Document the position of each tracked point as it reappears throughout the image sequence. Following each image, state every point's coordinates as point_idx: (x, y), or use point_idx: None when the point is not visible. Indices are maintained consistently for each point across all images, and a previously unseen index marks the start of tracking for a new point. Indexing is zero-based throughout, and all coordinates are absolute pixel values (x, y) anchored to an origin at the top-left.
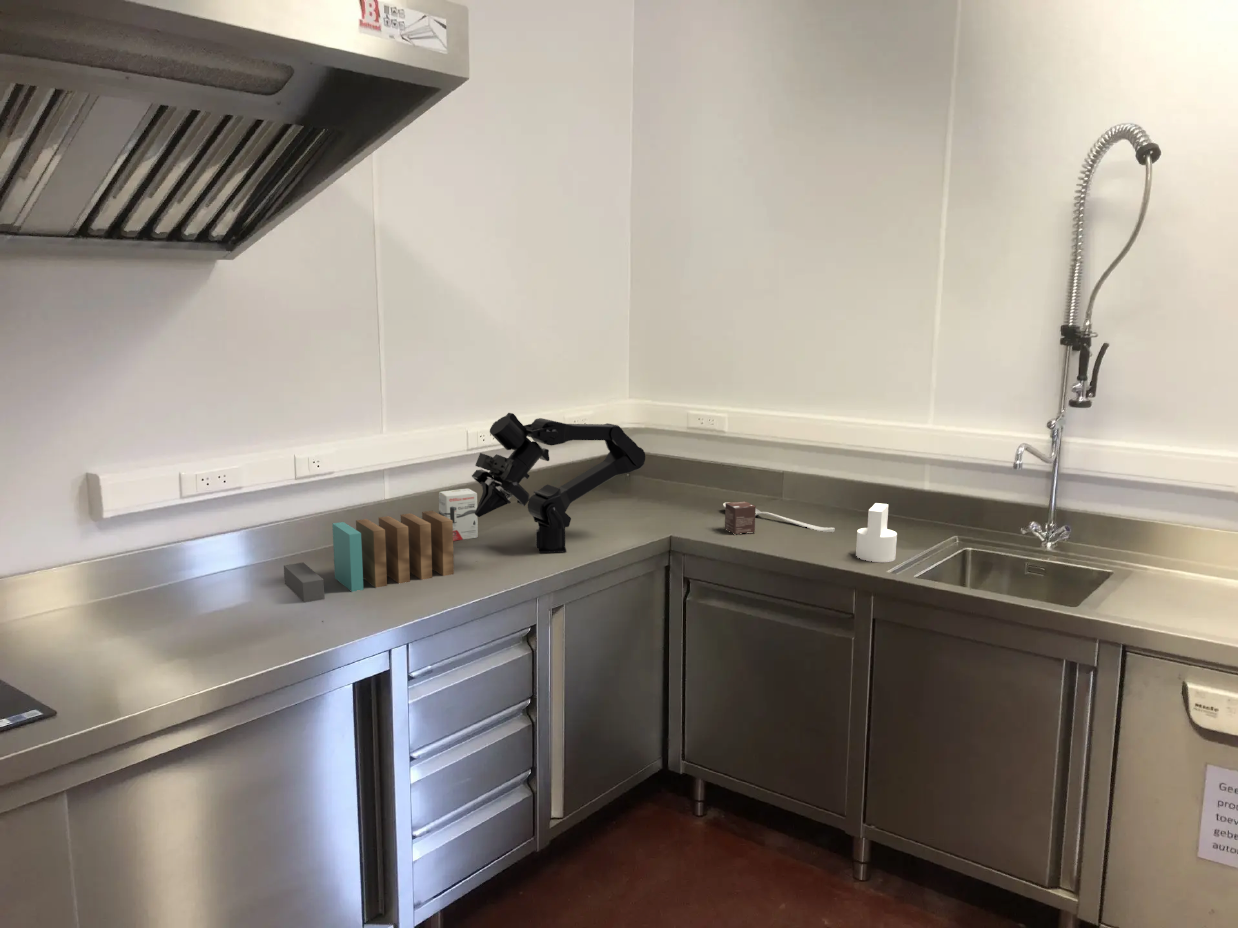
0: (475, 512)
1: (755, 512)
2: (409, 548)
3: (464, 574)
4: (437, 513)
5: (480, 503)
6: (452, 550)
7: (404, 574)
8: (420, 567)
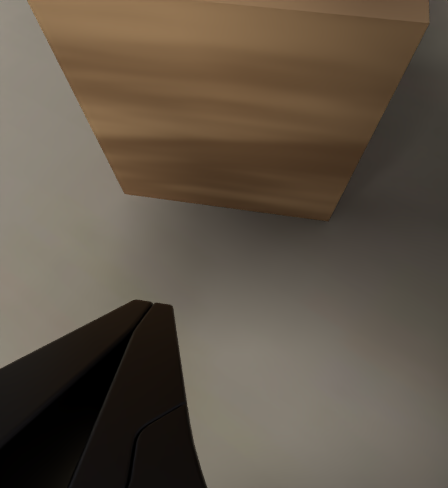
0: (163, 308)
1: None
2: None
3: (88, 220)
4: (301, 7)
5: (131, 368)
6: (95, 129)
7: None
8: None
